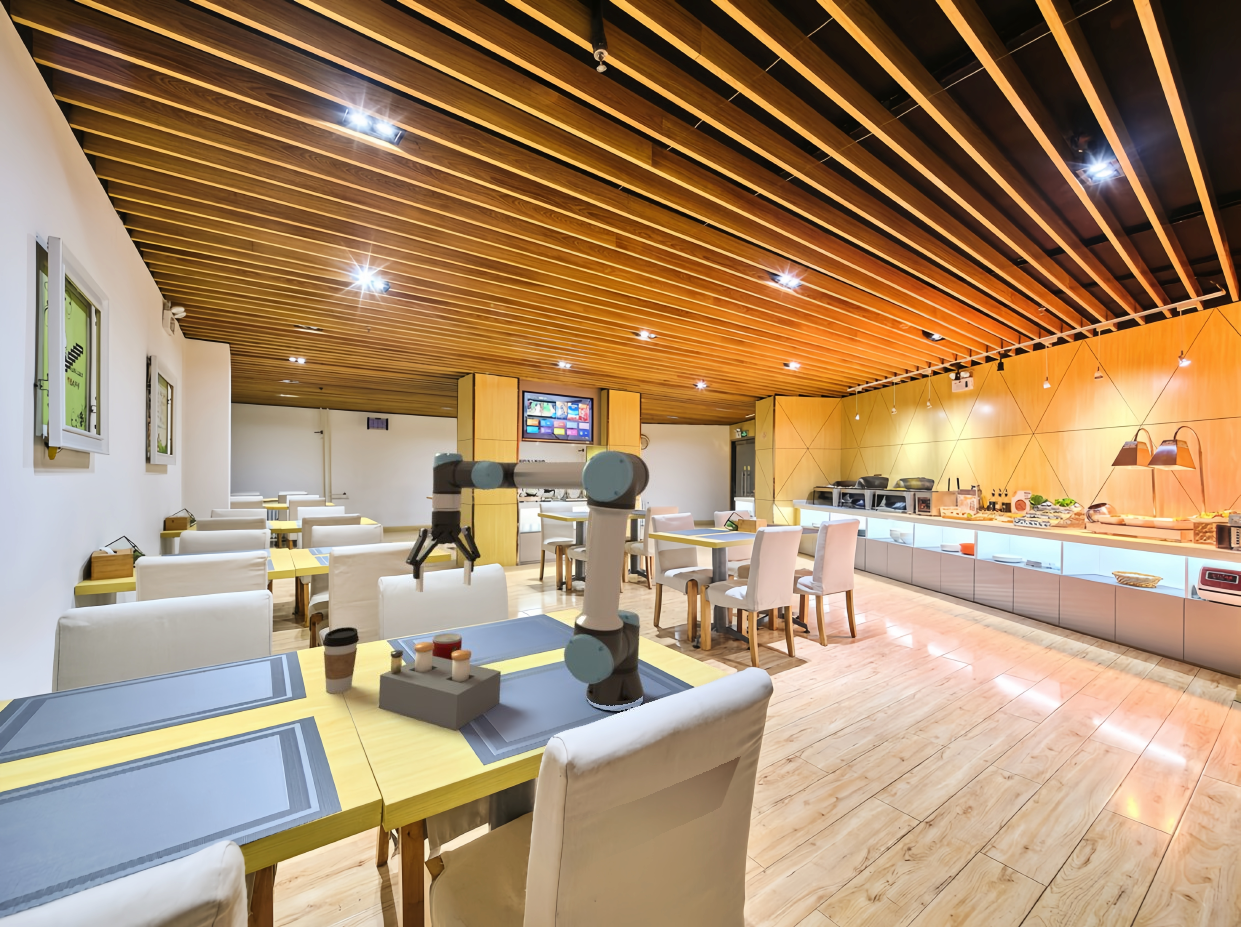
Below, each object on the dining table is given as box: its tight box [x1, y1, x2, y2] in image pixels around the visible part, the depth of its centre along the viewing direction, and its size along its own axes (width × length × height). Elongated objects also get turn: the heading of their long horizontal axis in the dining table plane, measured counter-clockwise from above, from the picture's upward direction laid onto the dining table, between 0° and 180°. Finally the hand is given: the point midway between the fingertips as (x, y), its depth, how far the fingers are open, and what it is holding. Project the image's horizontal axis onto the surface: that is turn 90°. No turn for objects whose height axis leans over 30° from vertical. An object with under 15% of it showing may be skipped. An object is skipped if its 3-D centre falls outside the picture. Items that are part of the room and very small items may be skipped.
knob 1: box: [414, 641, 434, 674], centre depth 131 cm, size 5×5×8 cm
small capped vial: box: [390, 649, 404, 674], centre depth 128 cm, size 3×3×5 cm
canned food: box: [432, 632, 463, 660], centre depth 147 cm, size 8×8×11 cm
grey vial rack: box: [378, 656, 502, 732], centre depth 128 cm, size 24×16×8 cm, turn 66°
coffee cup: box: [322, 626, 360, 694], centre depth 136 cm, size 8×8×15 cm
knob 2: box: [452, 649, 472, 683], centre depth 126 cm, size 5×5×8 cm
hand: (443, 587), depth 140 cm, fingers open, 13 cm apart
